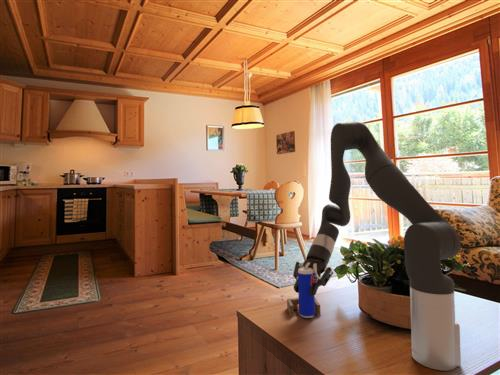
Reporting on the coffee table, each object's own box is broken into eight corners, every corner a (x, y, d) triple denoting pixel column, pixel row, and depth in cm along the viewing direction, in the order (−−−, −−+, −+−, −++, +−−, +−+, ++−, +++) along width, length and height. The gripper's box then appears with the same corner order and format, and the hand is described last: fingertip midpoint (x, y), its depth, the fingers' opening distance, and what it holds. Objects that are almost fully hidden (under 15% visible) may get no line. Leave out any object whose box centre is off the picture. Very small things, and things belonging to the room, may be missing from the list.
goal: (315, 307, 107) (315, 297, 107) (320, 315, 100) (320, 305, 100) (287, 308, 106) (287, 298, 106) (290, 316, 99) (290, 305, 99)
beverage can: (315, 318, 95) (313, 271, 95) (298, 317, 96) (297, 270, 96) (314, 312, 100) (313, 267, 100) (299, 311, 101) (298, 267, 101)
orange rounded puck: (307, 310, 105) (307, 303, 105) (310, 314, 101) (310, 307, 101) (296, 310, 104) (296, 303, 104) (299, 315, 100) (299, 307, 100)
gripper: (299, 241, 109) (280, 282, 100) (336, 245, 99) (318, 291, 90) (307, 254, 113) (290, 294, 104) (343, 259, 103) (327, 304, 94)
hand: (303, 292), depth 97 cm, fingers closed on beverage can, 5 cm apart
